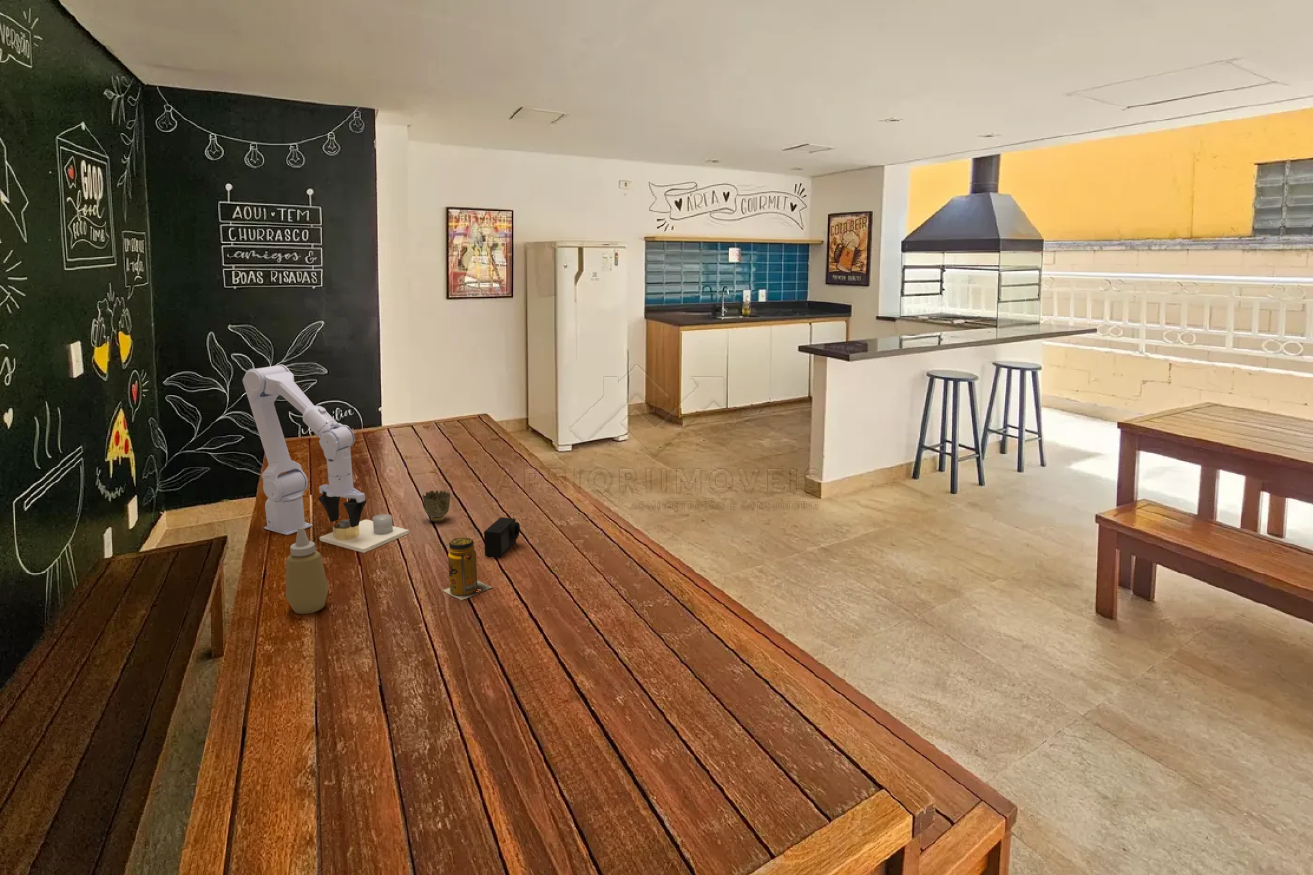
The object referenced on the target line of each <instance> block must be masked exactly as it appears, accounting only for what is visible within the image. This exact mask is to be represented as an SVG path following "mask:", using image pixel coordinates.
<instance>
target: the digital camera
mask: <svg viewBox="0 0 1313 875" xmlns="http://www.w3.org/2000/svg"><path fill="white" fill-rule="evenodd" d="M520 527H521V525H520V523H519V522H518V521H516V518H511V517H502V516H501V517H499V518H498V519H497V520H496V521H494V522H493V523H492V524H491V525H490V526H489V527H487V528H486V530H484V532H483V538H484V542H483V543H484V557H485V556H487V557H486V558H491V557H496V558H495V559H502V558H503V557H504V556H505V555H506V554H507V553H508V552H509V551H510V550H511V549H512V548H513V547H514V546H515V545H516V544H517V540H518V538H519V536H520V531H521V528H520ZM515 543H516V544H515ZM514 544H515V545H514ZM513 545H514V546H513ZM512 546H513V547H512ZM511 547H512V548H511ZM510 548H511V549H510ZM509 549H510V550H509ZM508 550H509V551H508ZM507 551H508V552H507ZM506 552H507V553H506ZM505 553H506V554H505ZM504 554H505V555H504ZM503 555H504V556H503ZM502 556H503V557H502Z"/></svg>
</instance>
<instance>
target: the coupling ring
mask: <svg viewBox="0 0 1313 875" xmlns="http://www.w3.org/2000/svg"><path fill="white" fill-rule="evenodd" d="M332 532H333V535H334V537H335V538H336V539H337V540H348V539H352V538H356V537H357V536H358V535H359V525H358V526H355V527H351V526H350V527H346V528H341V527H340V526H339V522H336V523H334V524H333V525H332Z"/></svg>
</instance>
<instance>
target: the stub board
mask: <svg viewBox="0 0 1313 875" xmlns="http://www.w3.org/2000/svg"><path fill="white" fill-rule="evenodd" d="M339 526H340V527H341V528H346V527H350V522H349V519H341V520H339ZM408 534H409V529H406V528H402V527H399V526H394V525H393V516H392V515H391V514H389V513H382V514H381V513H380V514H377V515H373V517H372V520H370V519H363V520H360V522H359V535H358V536H357V537H356V538H352V539H348V540H337V539H336V538H335V537H334V535H333V531H332V532H329V533H327V534H324V535H321V536H319V541H320V542H323V543H327V544H331V545H335V546H338V547H341V548H345V549H348V550H353V551H356V552H359V553H363V554H365V553H366V552H369V551H372V550H374V549H376V548H379V547H381V546H383V545H385V544H387V543H390V542H392V541H394V540H397V539H399V538H401V537H403V536H406V535H408Z"/></svg>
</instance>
